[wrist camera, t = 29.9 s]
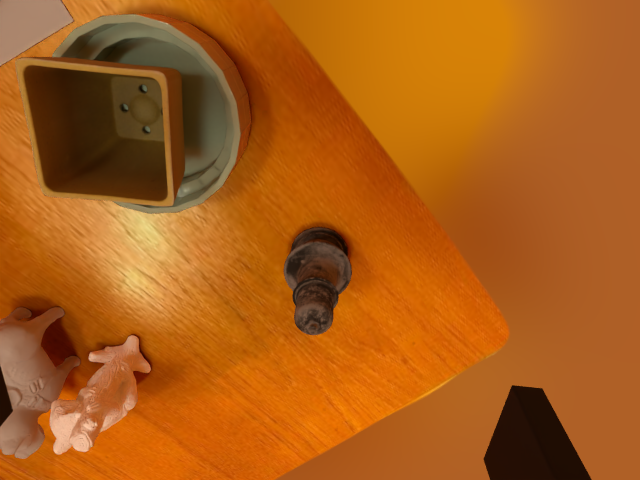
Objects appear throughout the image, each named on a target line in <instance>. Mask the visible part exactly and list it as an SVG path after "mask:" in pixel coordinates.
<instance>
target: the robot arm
mask: <svg viewBox="0 0 640 480" xmlns="http://www.w3.org/2000/svg"><path fill="white" fill-rule="evenodd" d="M12 412H13V409H12V405H11V401H10V398H9V394H8V391H7V387H6V384H5V380H4V377H3V373H2V370H1V366H0V427H1V425H2V424H3V423H4V422H5V420H6V419H7V418H8V417H9V416H10V414H11V413H12ZM484 462H485V465H486V468H487V471H488V474H489V477H490V480H591V478H590V476H589V474H588V472H587V471H586V469H585V467H584V465H583V463H582V461H581V459H580V458H579V456H578V454H577V452H576V450H575V448H574V447H573V445H572V443H571V441H570V439H569V437H568V436H567V434H566V432H565V430H564V428H563V426H562V424H561V423H560V421H559V419H558V417H557V415H556V413H555V411H554V410H553V408H552V406H551V404H550V402H549V400H548V399H547V397H546V395H545V393H544V391H543V389H542V388H532V387H523V386H512V387H511V389H510V392H509V395H508V398H507V400H506V402H505V405H504V407H503V410H502V413H501V415H500V418H499V421H498V423H497V426H496V428H495V431H494V433H493V436H492V439H491V441H490V444H489V446H488V449H487V452H486V454H485V457H484Z"/></svg>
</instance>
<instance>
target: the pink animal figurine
mask: <svg viewBox="0 0 640 480" xmlns="http://www.w3.org/2000/svg"><path fill="white" fill-rule="evenodd" d="M89 360H90V361H91V362H102V363H105V364H104V366H103V367H101V368H100V369H99V370H98V371H97V372H96V373H95V374H94V375H93V376H92V377H91V379H90V380H89V381H88V383H87V387H85V388H82V389H81V390H80V392H79V393H78V396H77V399H76V400H62V399H58V400H55V401H54V402H52V404H51V414H50V427H51V430H52V432H53V434H54V435H55V437H56V438H57V439H56V441H55V443H54V448H53V450H54V452H55V453H56V454H57V455H58V454H62V453H63V452H66V451H67V450H68V449H69V448H70V447H71V446H72V445H73V447H74V449H76V450H78V451H81V452H87V451H88V450H89V449H90V448H91V447H93V446H94V442H95V439H96V437H97V436H98V434H99V433H100V432H102V431H104V430H106V429H108V428H109V427H111V426H112V425H113V424H115V423H117V422H118V421H120V420H121V419H122V418H123V417H125V416H126V415H127V413H128V411H129V410H130V409H132V408H133V407H134V406H135V405H136V403H137V401H138V392H137V389H136V388H137V385H136V379H135V376H134V374H133V371H139V372H143V373H149V372H150V371H151V368H150V365H149V363H148V362H147V361H146V359H144V358H143V356H142V354H141V353H140V352H139V339H138V337H136V336H134V335H131V336H129V337H128V338H127V340H126V342H125V343H124V344H123V345H120V346H115V347H109V346H107V347H105V349H104V350H99V351H94V352H90V354H89Z"/></svg>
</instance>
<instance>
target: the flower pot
mask: <svg viewBox="0 0 640 480" xmlns="http://www.w3.org/2000/svg"><path fill="white" fill-rule="evenodd" d="M15 66H16V73H17V79H18V83H19V89H20V93H21V97H22V101H23V107H24V112H25V116H26V121H27V125H28V130H29V135H30V140H31V145H32V151H33V156H34V162H35V167H36V172H37V177H38V182H39V185H40V188H41V190H42V192H43V194H44V195H45V196H49V197H56V198H71V199H87V200H104V201H115V202H124V203H132V204H142V205H152V206H172V205H174V201H175V199H176V196H177V193H178V191H179V188H180V185H181V182H182V179H183V176H184V172H185V149H184V130H183V105H182V77H181V74H180V72H179V71H178V70H176V69H173V68H168V67H155V66H143V65H133V64H123V63H114V62H105V61H96V60H87V59H79V58H69V57H22V58H19V59H17V60H16V62H15ZM141 85H145V86H146V87H147V92H142V91H141V90H140V87H141ZM123 104H126V105H127V106H128V111H123V110H122V108H121V106H122V105H123ZM162 110H163V113H162ZM145 126H147V127H149V128H150V132H149V133H146V132H144V130H143V128H144V127H145Z"/></svg>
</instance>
